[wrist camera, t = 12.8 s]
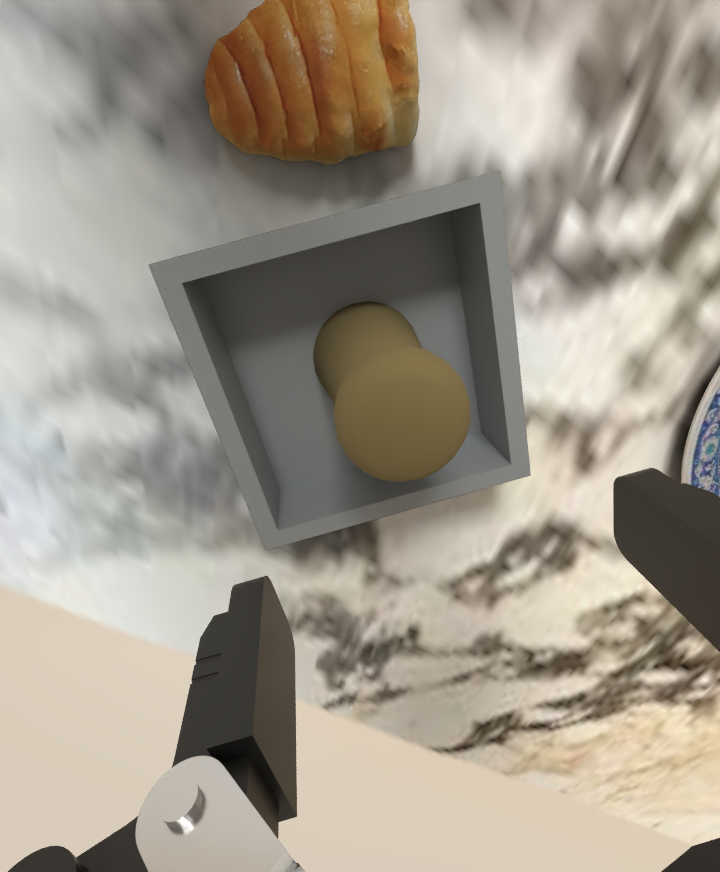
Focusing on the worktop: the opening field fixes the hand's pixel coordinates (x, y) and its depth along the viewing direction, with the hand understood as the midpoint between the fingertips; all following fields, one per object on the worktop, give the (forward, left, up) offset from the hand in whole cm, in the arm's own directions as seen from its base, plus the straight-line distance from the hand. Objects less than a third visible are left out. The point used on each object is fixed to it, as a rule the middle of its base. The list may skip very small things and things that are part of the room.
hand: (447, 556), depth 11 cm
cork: (0, +1, -18) cm, 18 cm away
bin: (0, 0, -18) cm, 18 cm away
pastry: (-13, +2, -19) cm, 23 cm away
